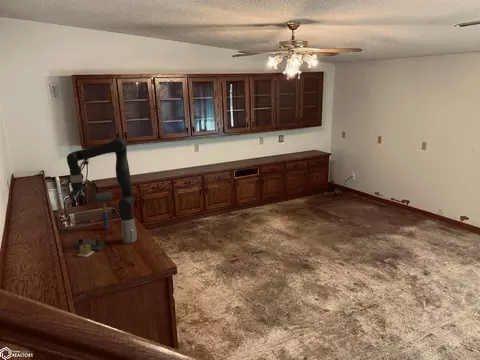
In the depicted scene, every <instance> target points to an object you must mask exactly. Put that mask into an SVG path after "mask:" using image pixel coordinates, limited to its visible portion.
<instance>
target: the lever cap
mask: <svg viewBox="0 0 480 360" xmlns="http://www.w3.org/2000/svg"><path fill="white" fill-rule="evenodd" d="M92 251H93V250H91V245H87V244H84V245H82V246H80V248H79V253H80V254H85V255H88V254H90V253H91V252H92Z"/></svg>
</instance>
